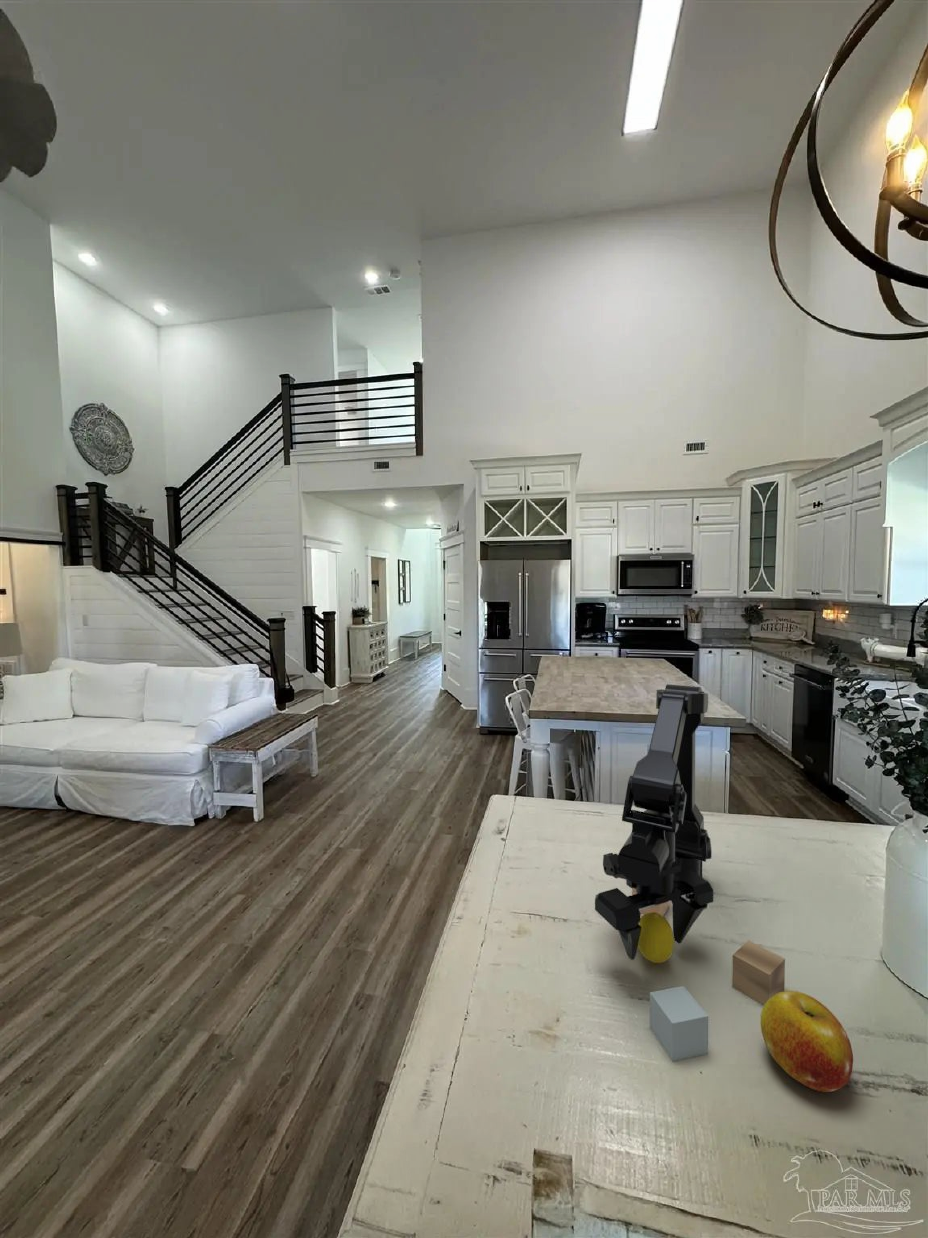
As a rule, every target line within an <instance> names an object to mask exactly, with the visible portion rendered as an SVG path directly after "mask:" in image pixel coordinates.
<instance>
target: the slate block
mask: <svg viewBox="0 0 928 1238" xmlns="http://www.w3.org/2000/svg"><path fill="white" fill-rule="evenodd" d="M649 1029H650V1031H652V1033H653V1035H654V1036H655V1037H656V1039H657V1040H658V1042H659V1044H660V1045H661V1047H662V1048H663V1050H664V1051H665V1053H666V1054H667V1057H668V1058H669V1059H670V1060H671V1062H676V1061H680V1060H685V1059H689V1058H693V1057H694V1058H695V1057H699V1056H702V1055H707V1054H709V1015H708V1014H707V1012H706V1011H704V1008H702V1007H701V1006H700V1004H699V1003H698V1002H697V1000H696V999H695V998H694V997H693V995H692V994H691V993H690V992H689V990H687V989H686V987H685V986H684V985H681V986H677V987H676V986H675V987H670V988H666V989H662V990H661V989H660V990H655V991H651V992H649Z"/></svg>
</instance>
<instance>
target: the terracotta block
mask: <svg viewBox="0 0 928 1238" xmlns="http://www.w3.org/2000/svg"><path fill="white" fill-rule="evenodd" d="M635 894H637V893H636V889H635V888H631V895H635ZM669 907H670V901H668V902H667V903H663V904H660V905H657V906H654V907H650V908H647V909H644V910H641V911H640V915H641V914H642V915H644V914H646V913H651V912H655V913H658V914H660V915H661V916H663V917H664V915H665V913H666V912H667V910H668V908H669Z"/></svg>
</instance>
